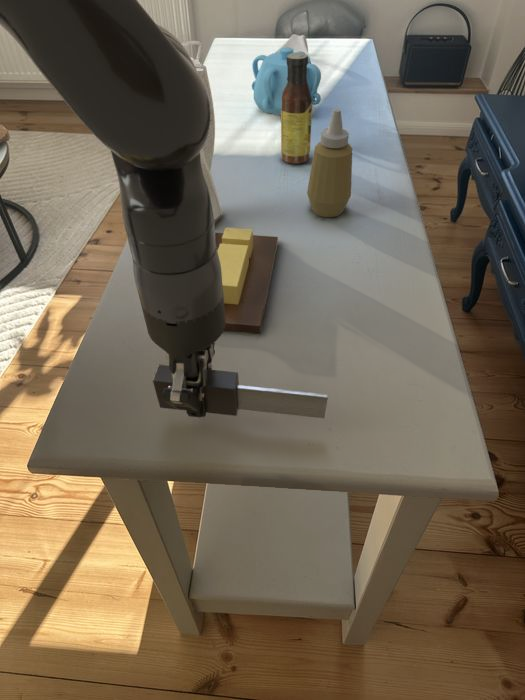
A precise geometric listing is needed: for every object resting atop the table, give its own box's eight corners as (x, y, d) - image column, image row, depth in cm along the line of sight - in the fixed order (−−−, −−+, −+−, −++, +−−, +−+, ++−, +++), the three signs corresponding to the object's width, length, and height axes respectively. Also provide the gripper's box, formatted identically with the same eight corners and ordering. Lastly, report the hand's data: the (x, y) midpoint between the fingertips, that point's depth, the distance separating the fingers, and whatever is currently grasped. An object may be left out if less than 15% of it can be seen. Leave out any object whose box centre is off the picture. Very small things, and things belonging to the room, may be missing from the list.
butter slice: (223, 256, 79) (221, 238, 76) (226, 245, 81) (225, 227, 78) (250, 258, 78) (249, 240, 76) (253, 247, 80) (252, 229, 78)
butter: (208, 302, 71) (206, 283, 69) (221, 261, 78) (220, 243, 75) (238, 304, 71) (237, 286, 68) (249, 263, 77) (248, 245, 75)
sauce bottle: (313, 163, 103) (320, 59, 89) (285, 167, 102) (288, 63, 88) (303, 150, 108) (308, 49, 93) (276, 154, 107) (277, 52, 92)
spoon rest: (305, 83, 136) (307, 54, 130) (264, 80, 138) (264, 52, 132) (318, 56, 151) (320, 30, 146) (281, 54, 153) (282, 28, 148)
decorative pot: (322, 120, 119) (327, 58, 109) (257, 123, 117) (256, 61, 107) (310, 95, 130) (314, 37, 120) (251, 98, 128) (249, 39, 118)
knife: (159, 407, 56) (152, 380, 52) (165, 391, 57) (158, 364, 54) (324, 425, 54) (328, 398, 50) (325, 408, 56) (329, 381, 52)
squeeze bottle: (343, 224, 87) (357, 123, 74) (300, 217, 89) (306, 116, 76) (353, 202, 92) (366, 103, 79) (312, 195, 94) (319, 98, 81)
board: (178, 326, 70) (176, 318, 69) (210, 239, 85) (209, 231, 84) (260, 333, 69) (259, 326, 68) (277, 243, 84) (278, 236, 82)
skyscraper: (195, 203, 93) (174, 35, 72) (231, 213, 90) (220, 42, 70) (169, 225, 88) (139, 51, 67) (207, 236, 85) (187, 59, 65)
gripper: (161, 242, 48) (183, 356, 61) (115, 341, 39) (151, 452, 52) (235, 247, 48) (241, 362, 61) (205, 350, 38) (220, 460, 51)
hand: (199, 403), depth 56 cm, fingers closed on knife, 2 cm apart
